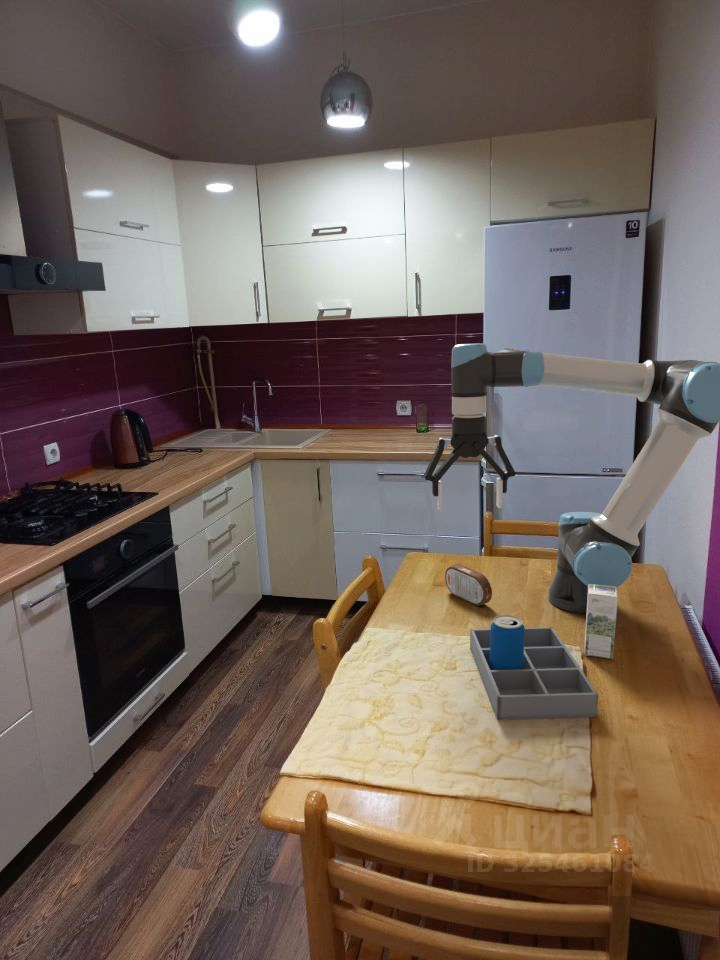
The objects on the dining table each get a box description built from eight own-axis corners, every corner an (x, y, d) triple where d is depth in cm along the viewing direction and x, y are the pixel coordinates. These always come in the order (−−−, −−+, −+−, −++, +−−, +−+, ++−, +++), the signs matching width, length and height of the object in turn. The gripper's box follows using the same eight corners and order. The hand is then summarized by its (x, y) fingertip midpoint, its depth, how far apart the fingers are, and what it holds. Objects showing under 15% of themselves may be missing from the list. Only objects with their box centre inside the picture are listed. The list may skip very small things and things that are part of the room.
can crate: (551, 645, 140) (552, 627, 139) (596, 716, 115) (598, 694, 114) (470, 648, 140) (470, 629, 139) (497, 719, 114) (497, 697, 113)
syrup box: (612, 647, 139) (616, 584, 136) (613, 660, 134) (618, 595, 130) (584, 643, 141) (588, 582, 138) (584, 656, 136) (588, 592, 132)
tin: (492, 608, 160) (493, 576, 158) (483, 611, 158) (484, 579, 156) (451, 589, 172) (452, 559, 170) (442, 591, 171) (443, 561, 169)
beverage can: (523, 687, 123) (525, 629, 121) (489, 684, 125) (490, 627, 122) (521, 669, 130) (524, 615, 127) (489, 667, 131) (490, 612, 128)
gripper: (520, 410, 145) (519, 501, 150) (410, 415, 145) (413, 506, 149) (530, 414, 138) (528, 510, 142) (414, 420, 138) (416, 515, 142)
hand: (469, 508), depth 146 cm, fingers open, 13 cm apart
